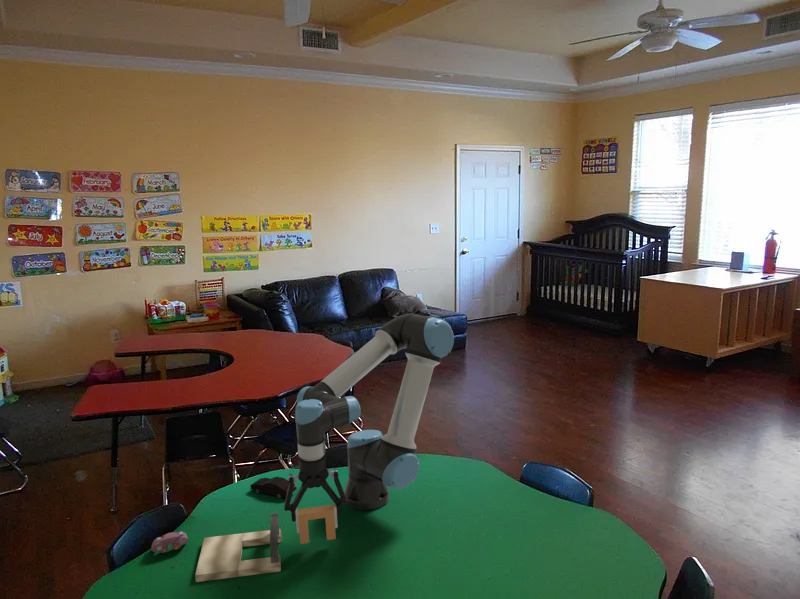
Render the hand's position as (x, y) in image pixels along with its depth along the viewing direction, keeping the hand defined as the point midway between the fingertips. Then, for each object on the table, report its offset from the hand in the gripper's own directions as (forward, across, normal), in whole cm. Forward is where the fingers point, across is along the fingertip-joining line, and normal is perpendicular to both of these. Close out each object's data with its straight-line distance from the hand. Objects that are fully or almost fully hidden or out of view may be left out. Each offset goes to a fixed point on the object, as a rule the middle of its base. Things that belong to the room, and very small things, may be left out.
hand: (317, 528), depth 170 cm
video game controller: (+6, +42, -9) cm, 43 cm away
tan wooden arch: (+3, 0, 0) cm, 3 cm away
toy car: (+7, +14, -37) cm, 40 cm away
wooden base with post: (+6, +22, -1) cm, 23 cm away
